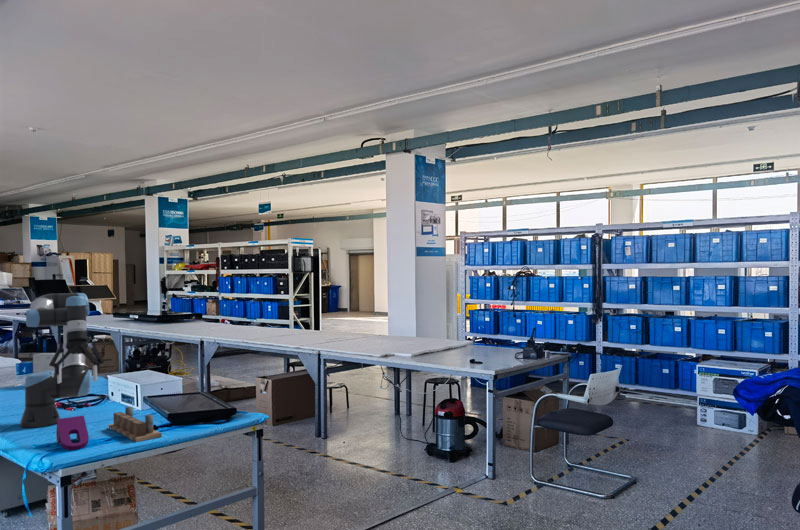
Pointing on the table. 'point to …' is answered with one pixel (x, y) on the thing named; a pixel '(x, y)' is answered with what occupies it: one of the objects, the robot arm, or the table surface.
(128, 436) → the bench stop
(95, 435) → the table surface
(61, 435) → the mounting bracket
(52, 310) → the robot arm
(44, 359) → the hard drive box
